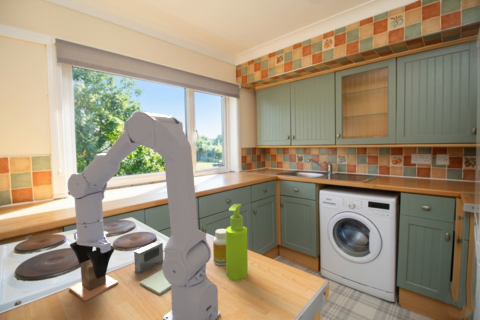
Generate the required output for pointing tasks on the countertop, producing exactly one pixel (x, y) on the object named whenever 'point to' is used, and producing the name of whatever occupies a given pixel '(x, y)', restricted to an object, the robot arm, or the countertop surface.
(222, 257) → the supplement bottle
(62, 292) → the countertop surface
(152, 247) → the grey unit
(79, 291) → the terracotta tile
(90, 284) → the walnut block
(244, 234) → the soap dispenser
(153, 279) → the sage tile
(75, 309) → the countertop surface
